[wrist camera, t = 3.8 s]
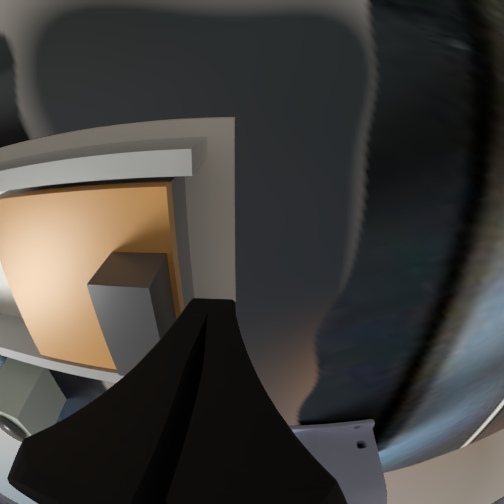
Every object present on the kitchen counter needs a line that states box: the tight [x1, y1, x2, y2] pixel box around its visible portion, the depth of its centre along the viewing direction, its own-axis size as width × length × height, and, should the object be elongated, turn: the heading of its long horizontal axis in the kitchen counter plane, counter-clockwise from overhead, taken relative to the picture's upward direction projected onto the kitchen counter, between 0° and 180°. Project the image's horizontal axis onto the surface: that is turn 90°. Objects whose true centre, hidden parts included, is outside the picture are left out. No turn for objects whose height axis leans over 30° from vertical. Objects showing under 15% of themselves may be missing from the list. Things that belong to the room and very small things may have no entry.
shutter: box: [0, 181, 185, 376], centre depth 10 cm, size 8×8×3 cm
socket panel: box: [0, 117, 237, 383], centre depth 12 cm, size 22×12×4 cm, turn 89°
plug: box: [0, 357, 66, 442], centre depth 17 cm, size 4×4×6 cm
